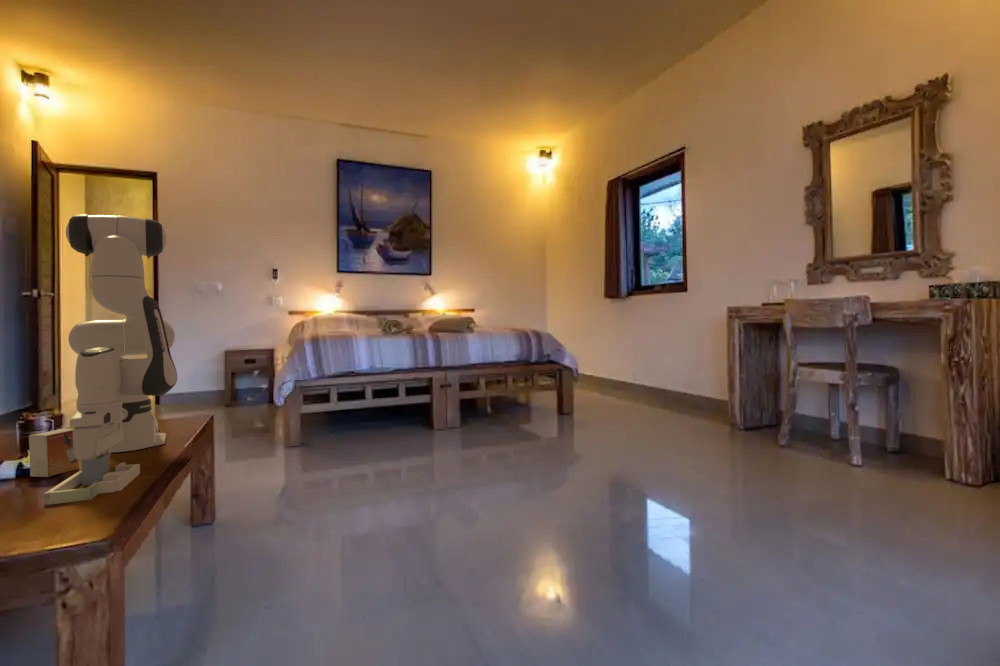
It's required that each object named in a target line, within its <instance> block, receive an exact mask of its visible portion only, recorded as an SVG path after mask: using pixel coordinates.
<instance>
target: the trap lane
mask: <svg viewBox="0 0 1000 666" xmlns="http://www.w3.org/2000/svg"><path fill="white" fill-rule="evenodd" d="M114 470H115V471H110V472H108V473H106V474H105V475H103V481H102V482H94V483H93V484H91V485H88V487H81V488H76V487H77V486H79V485H80V484H82V470H81V469H80V470H78V471H77V472H76V473H73V475H71V476H69V477H68V478H66V479H65V480H63V481H61V482H60V483H58V484H56V485H55V486H54V487H52V488H50V489H49V490H48V491H46V492H44V494H43V501H44V503H43V504H44V506H49V505H56V504H66V503H75V502H82V501H91V500H93V499H94V498H95V497H96V496H98V495H99V494H100V495H101V494H108V493H109V494H111V493H115V492H120V491H122V490H124V489H125V488H126V487H127V486H128V485H129V484H130V483H131V482H132V481H134V479H136V478H137V477H138V476H139V475H140V474H141V465H140V463H136V464H135V463H132V464H126V462H124V461H123V462H120V463H119V464H117V465H115V467H114Z"/></svg>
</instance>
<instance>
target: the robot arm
mask: <svg viewBox="0 0 1000 666" xmlns="http://www.w3.org/2000/svg"><path fill="white" fill-rule="evenodd" d="M65 237H66V239H67V241H68V243H69V245H70V248H72V249H73V250H74V251H75V252H78V253H81V254H84V256H85V257H89V256H90V255H91V254H92V257H91V267H90V268H91V269H90V270H91V271H90V272H91V273H90V279H91V280H90V281H91V282H90V284H91V286H90V287H91V293H92V295H93V296H92V297H93V298H94V300H95V301H96V302H97V303H98V304H99V305H101V307H103V308H104V309H106V310H108V311H111V312H113V313H116V314H119V315H121V316H124V317H126V318H124V319H95V320H93V319H92V320H88V321H82V322H77V323H76V324H74V326H73V327H72V328H71V330H70V331H69V333H68V345H69V346H70V348H71V349H72V351H73V352H74V353H75V354H76V355H77V358H76V361H75V372H74V373H75V376H74V377H75V379H74V380H75V381H74V382H75V388H76V390H77V398H76V399H77V400H76V404H75V405H76V409H75V411H74V414H72V415H73V416H72V417H70V419H69V427H70V429H74V430H73V446H74V454H75V457H76V459H77V460H79V462H81V460H91V459H95V458H97V457H98V456H100V455H104V454H108V465H109V466H110V461H109V460H110V458H111V457H110V456H111V454H112V453H122V452H130V451H131V452H132V451H137V450H142V449H146V448H147V449H148V448H151V447H156V446H161V445H165V443H166V440H167V433H166V432H160V428H159V427H158V426H159V425H158V424H159V423H158V420H157V418H156V416H155V414H153V412H152V408H153V407H152V399H151V398H150V397H149V396H151V397H152V396H153V397H155V396H156V397H161V396H164V395H165V394H167V393H168V392H170V391H171V390H172V389H174V387H175V386H176V384H177V381H178V374H177V373H178V371H177V369H176V368H177V367H176V366H175V365H176V364H175V363H174V360H173V357H172V355H171V351H170V350H171V347H172V346H173V345H174V342H175V338H176V337H175V331H174V328H173V327H172V326H171V324H169V322H167V321H166V320H164V319H163V315H162V311H161V308H160V306H159V303H158V301H157V300H156V299H155V298H153V297H151V296H150V295H149V293H148V292H147V290H146V285H145V268H144V267H145V265H144V259H143V256H146V258H147V259H150V258H151V257H155V256H158V255H160V254H162V252H163V250H164V249H165V247H166V244H167V234H166V231H165V230H164V227H163V225H162V224H161V223H160V222H159V221H158V220H154V219H151V218H145V219H144V218H140V217H134V216H129V215H128V216H126V215H120V214H117V215H110V214H107V215H106V214H105V215H104V214H95V215H93V214H92V215H89V214H88V213H85V214H84V213H82V214H81V213H80V214H75V215H73V216H71V217H70V219H69V221H68V222H67V225H66V227H65ZM141 355H143V356H145V355H146V357H145V358H124V357H125V356H141Z"/></svg>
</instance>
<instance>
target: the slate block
mask: <svg viewBox="0 0 1000 666" xmlns="http://www.w3.org/2000/svg"><path fill="white" fill-rule="evenodd" d="M80 466H81V468H80V470H82V483H81V486H82V487H83V486H90V485H91V484H93V483H94V482H102V481H103V475H105V474H106V473H108V472H109V471H110V468H109V467H110V464H109V465H108V454H104V455H100V456H98V457H97V458H95V459H91V460H80Z"/></svg>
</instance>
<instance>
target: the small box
mask: <svg viewBox="0 0 1000 666" xmlns="http://www.w3.org/2000/svg"><path fill="white" fill-rule="evenodd" d="M73 430H74V428H58V429H55V430H51V431H50V430H49V431H45V432H41V433H40V432H39V433H35V434H29V435H28V448H29V449H28V450H29V476H30V477H36V478H49V477H52V476H55V475H56V476H57V475H59V474H63V473H67V472H71V471H76V470H79V468H80V461H79V460H77V459H76V457H75V454H74V446H73Z"/></svg>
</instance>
